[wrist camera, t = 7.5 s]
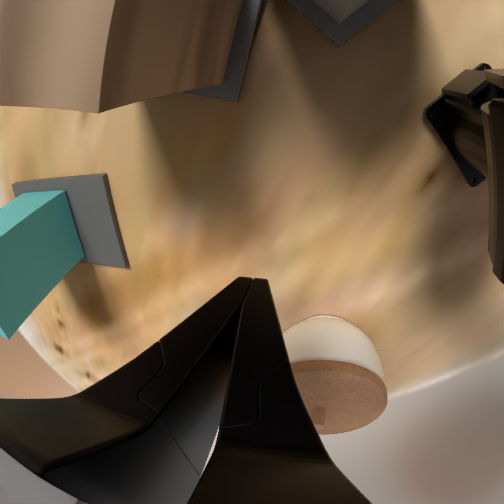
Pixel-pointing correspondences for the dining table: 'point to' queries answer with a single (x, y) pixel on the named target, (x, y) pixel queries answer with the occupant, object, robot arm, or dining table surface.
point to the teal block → (34, 253)
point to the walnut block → (111, 50)
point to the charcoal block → (340, 7)
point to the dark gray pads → (96, 186)
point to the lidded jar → (336, 373)
